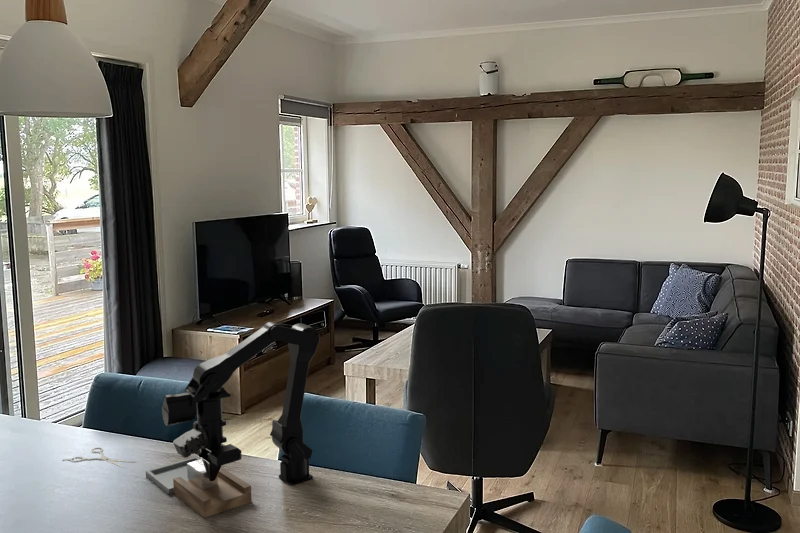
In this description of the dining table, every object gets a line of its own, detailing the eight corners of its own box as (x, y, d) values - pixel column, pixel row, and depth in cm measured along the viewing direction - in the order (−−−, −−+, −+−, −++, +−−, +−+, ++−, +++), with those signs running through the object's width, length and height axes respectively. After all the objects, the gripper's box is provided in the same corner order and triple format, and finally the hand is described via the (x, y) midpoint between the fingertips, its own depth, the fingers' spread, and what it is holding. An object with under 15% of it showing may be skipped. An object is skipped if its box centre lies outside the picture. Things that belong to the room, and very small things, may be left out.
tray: (197, 461, 188) (196, 456, 188) (222, 478, 178) (221, 472, 178) (145, 476, 179) (145, 471, 179) (169, 495, 169) (168, 489, 169)
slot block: (219, 480, 177) (218, 464, 176) (251, 501, 165) (251, 485, 165) (173, 494, 169) (173, 478, 168) (204, 518, 157) (203, 501, 157)
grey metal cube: (202, 474, 175) (202, 458, 174) (210, 479, 172) (209, 463, 171) (187, 478, 172) (186, 463, 171) (195, 484, 169) (194, 468, 168)
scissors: (93, 445, 199) (146, 456, 191) (93, 448, 199) (147, 459, 191) (61, 459, 189) (116, 471, 181) (61, 462, 189) (116, 474, 181)
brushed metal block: (210, 479, 172) (209, 463, 171) (217, 484, 169) (217, 468, 168) (194, 484, 169) (194, 468, 168) (202, 489, 166) (201, 473, 165)
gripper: (159, 415, 166) (162, 478, 168) (196, 436, 152) (198, 504, 154) (203, 404, 173) (205, 465, 175) (241, 424, 159) (243, 489, 161)
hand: (212, 480), depth 166 cm, fingers closed
